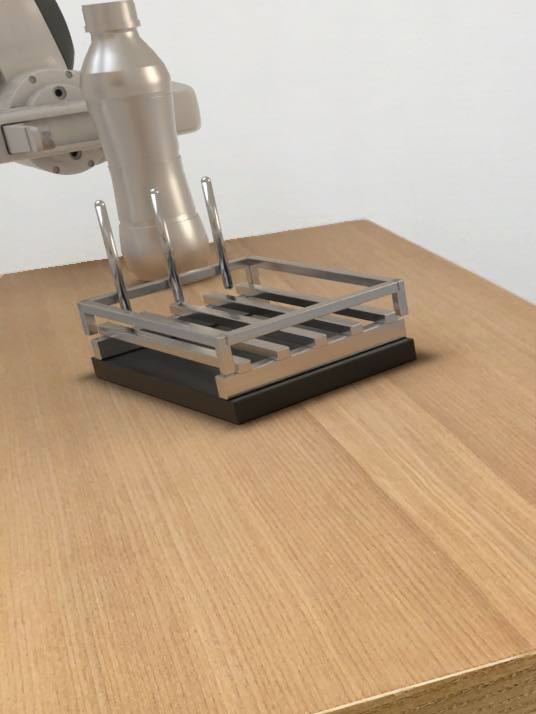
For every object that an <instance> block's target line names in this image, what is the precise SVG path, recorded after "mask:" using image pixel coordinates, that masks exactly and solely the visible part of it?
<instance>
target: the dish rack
mask: <svg viewBox="0 0 536 714" xmlns="http://www.w3.org/2000/svg"><path fill="white" fill-rule="evenodd" d="M200 184H201V189H202V193H203V198H204V204H205V207H206V212H207V216H208V221H209V225H210V229H211V230H210V231H211V235H212V239H213V244H214V249H215V253H216V258H217V262H218V263H213V264H210V265H207V266H206V267H203V268H199V269H195V270H192V271H188V272H184V273H181V274H179V273H178V269H177V265H176V260H175V256H174V252H173V248H172V243H171V239H170V235H169V230H168V226H167V222H166V217H165V213H164V209H163V204H162V200H161V196H160V192H159V190H158V189H157V188H152V189H150V191H149V194H150V199H151V203H152V207H153V211H154V216H155V220H156V224H157V228H158V233H159V237H160V241H161V245H162V250H163V254H164V258H165V262H166V267H167V271H168V275H169V277H166V278H162V279H159V280H155V281H148V282H145V283H141V284H137V285H134V286H130V287H127V285H126V282H125V277H124V274H123V273H124V272H123V269H122V265H121V260H120V257H119V252H118V249H117V246H116V245H117V244H116V241H115V237H114V233H113V230H112V225H111V221H110V218H109V214H108V210H107V206H106V205H107V204H106V203H105V201H104V200H101V199H97V200H95V202H94V206H93V207H94V209H95V213H96V217H97V221H98V225H99V229H100V233H101V236H102V240H103V244H104V249H105V253H106V256H107V261H108V264H109V268H110V272H111V276H112V280H113V284H114V289H115V291H111V292H108V293H104V294H101V295H96V296H93V297H89V298H85V299H81V300H78V301H76V306H77V310H78V313H79V318H80V321H81V324H82V328H83V332H84V335H85V336H88V337H91V336H95V335H97V334H99V335H100V336H97V337H94V338H91V339H90V344H91V347H92V351H93V355H94V356H92V357H90V360H91V364H92V368H93V372H94V374H95V377H97V378H100V379H103V380H105V381H109V382H112V383H114V384H118V385H121V386H123V387H126V388H130V389H133V390H135V391H138V392H142V393H145V394H147V395H149V396H152V397H153V396H154V397H156V398H159V399H162V400H165V401H168V402H172V403H174V404H177V405H181V406H183V407H186V408H189V409H192V410H195V411H198V412H201V413H204V414H207V415H210V416H212V417H215V418H219V419H222V420H225V421H228V422H230V423H234V424H237V425H240V424H243V423H245V422H249V421H251V420H253V419H257V418H259V417H261V416H264V415H267V414H270V413H272V412H276V411H278V410H281V409H284V408H286V407H289V406H292V405H294V404H297V403H300V402H302V401H305V400H307V399H311V398H314V397H316V396H319V395H322V394H324V393H327V392H329V391H333V390H335V389H337V388H341V387H343V386H346V385H348V384H351V383H354V382H357V381H360V380H362V379H364V378H367V377H370V376H373V375H376V374H378V373H382V372H383V371H386V370H389V369H392V368H394V367H398V366H400V365H403V364H405V363H409V362H410V361H413V360H416V359H417V352H416V346H415V345H416V344H415V339H414V338H412V337H407V329H406V321H405V318H404V316H407V315H409V307H408V300H407V294H406V287H405V286H406V285H405V280H404V279H402V278H397V277H389V276H384V275H378V274H373V273H365V272H361V271H360V272H359V271H352V270H346V269H342V268H341V269H340V268H334V267H330V266H329V267H328V266H322V265H316V264H309V263H304V262H297V261H291V260H285V259H279V258H273V257H266V256H261V255H255V254H247V255H243V256H240V257H236V258H232V259H228V254H227V248H226V244H225V240H224V235H223V229H222V225H221V221H220V216H219V212H218V207H217V202H216V198H215V194H214V193H215V192H214V187H213V184H212V180H211V178H210V177H209V176H202V177H201V179H200ZM241 269H244V270H245V271H244V272H245V275H246V280H247V282H242V283H238V284H235V291H236V294H237V295H230V294H226V293H221V292H216V291H211V292H210V291H209V292H206V293H204V294H202V298H203V303H204V304H206V305H198V304H193V303H189V302H185V295H184V291H183V286H185V285H187V284H190V283H196V282H198V281H202V280H205V279H209V278H212V277H216V276H219V275H220V276H221V282H222V286H223V288H224V289H225V290H226V291H231V290H232V289H233V288H234V282H233V278H232V273H231V272H234V271H237V270H241ZM258 269H262V270H263V269H264V270H269V271H273V272H281V273H284V274H285V273H286V274H292V275H298V276H303V277H310V278H316V279H321V280H327V281H332V282H337V283H343V284H349V285H355V286H361V287H366V288H363V289H359V290H356V291H353V292H349V293H346V294H344V295H340V296H336V297H333V298H328V297H324V296H319V295H313V294H307V293H302V292H297V291H292V290H286V289H282V288H277V287H270V286H265V285H261V280H260V275H259V270H258ZM170 289H171V292H172V296H173V300H174V302H172V303H169V304H168V307H169V313H170V315H169V316H165V315H160V314H157V313H153V312H149V311H141V312H137V311H133V309H132V305H131V300H134V299H137V298H140V297H145V296H148V295H152V294H155V293H158V292H162V291H166V290H170ZM390 295H391V300H392V306H393V310H391V309H386V308H382V307H381V308H380V307H376V306H371V305H366V303H368V302H371V301H374V300H378V299H380V298H384V297H387V296H390ZM271 302H275V303H280V304H285V305H290V306H295V307H299V309H298V308H294V307H290V306H284V305H279V304H274V303H271ZM364 303H365V304H364ZM116 304H119V307H117V306H113V305H116ZM330 314H334V315H338V316H343V317H347V318H352V319H353V318H354V319H358V320H363V321H368V322H371V323H368V324H366V325H363V323H362V321H357V320H351V319H346V318H341V317H337V316H332V315H330ZM95 317H99V318H103V319H106V320H110V321H113V322H110V321H107V322H103V323H100V324H97V322H96V319H95ZM115 322H117V323H115ZM118 323H121V324H118ZM123 324H125V325H123ZM127 325H129V326H127ZM130 326H131V327H130Z"/></svg>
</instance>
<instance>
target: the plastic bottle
mask: <svg viewBox="0 0 536 714" xmlns="http://www.w3.org/2000/svg"><path fill="white" fill-rule="evenodd" d="M81 12H82V16H83V21H84V26H83V27H84V32H85V33H89V35H90V45H89V46H88V49H87V52H86V54H85V56H84V58H83V62H82V64H81V68H80V70H79V71H80V80H79V87H80V90H81V93H82V96H83V99H84V100H85V102H86V107H87V109H88V112H89V114H90V117H91V119H92V122H93V124H94V127H95V129H96V132H97V134H98V136H99V139H100V142H101V146H102V149H103V152H104V156H105V159H107V161H106V162H107V164H108V165H107V168H108V171H109V175H110V177H111V183H112V188H113V189H112V190H113V194H114V200H115V201H114V202H115V205H116V212H117V217H118V221H119V224H118V238H119V246H120V253H121V255H122V258H123V260H124V262H125V264H126V267H127V270H128V272H130V273H131V275H133V277H135V279H137V280H139V281H144V282H147V281H148V282H151V281H155V280H159V279H162V278H166V277H169V275H168V271H167V267H166V262H165V258H164V254H163V250H162V245H161V241H160V237H159V233H158V228H157V224H156V220H155V216H154V211H153V207H152V203H151V199H150V194H149V191H150V189H152V188H157V189H158V190H159V192H160V196H161V200H162V204H163V209H164V213H165V217H166V222H167V226H168V230H169V235H170V239H171V243H172V248H173V252H174V256H175V260H176V265H177V269H178V273H179V274H181V273H184V272H188V271H192V270H195V269H199V268H203V267H206V266H208V263H209V260H210V256H211V255H210V241H209V240H210V239H209V237H208V234H207V232H206V228H205V226H204V223H203V221H202V218H201V216H200V214H199V213H198V212H197V211H196V210H197V208H196V204H195V201H194V199H193V195H192V192H191V189H190V186H189V183H188V179H187V176H186V172H185V170H184V164H183V160H182V155H180V142H179V137H178V136H177V131H176V124H175V113H174V102H173V93H172V90H171V88H172V83H171V81H172V78H171V74H170V72H169V69H168V68H167V66H166V64H165V62H164V61H163V60H162V59H161V57H160V56H159V55H158V54H157V53H156V51H154V49H153V48H152V47H151V46H150V45H149V44H147V42H146V41H144V39H143V38H142V37H141V35H140V33H139V31H138V27H142V25H141V20H140V19H139V18H138V13H137V8H136V3H135V1H134V0H117V1H108V2H107V1H106V2H100V3H91V4H83V5H82V4H81Z"/></svg>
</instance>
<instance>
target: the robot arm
mask: <svg viewBox="0 0 536 714" xmlns="http://www.w3.org/2000/svg"><path fill="white" fill-rule="evenodd" d="M69 29H70V28H69V26H68V24H67V21H66V19H65V17H64V14H63V12H62V10H61V8H60V6H59V4H58V2H57V0H0V165H3V164H9V163H17V164H18V165H22V166H25V167H30V168H34V169H36V170H39V171H40V170H41V171H44V172H48V173H49V174H50V173H51V174H54V175H60V176H72V175H77V174H81V173H84V172H86V171H89V170H91V169H92V168H94V167H95V166H98V165H102V164H103V163H106V162H107V159H105V156H104V152H103V149H102V146H101V142H100V139H99V136H98V134H97V132H96V129H95V127H94V124H93V122H92V119H91V117H90V114H89V112H88V109H87V107H86V102H85V100H84V99H83V96H82V93H81V90H80V87H79V80H80V71H81V70H77V69H74V66H75V55H76V53H75V47H74V43H73V39H72V36H71V32H70V30H69ZM171 83H172V88H171V90H172V93H173V102H174V113H175V124H176V131H177V137H178V136H183V135H188V134H193V133H196V132H197V131H199V130H200V129H201V128H202V117H201V112H200V106H199V101H198V98H197V95H196V92H195V89H194V88H193V87H192V86H190V85H189V84H187V83H182V82H178V81H174V80H173V81H172V80H171Z"/></svg>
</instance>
